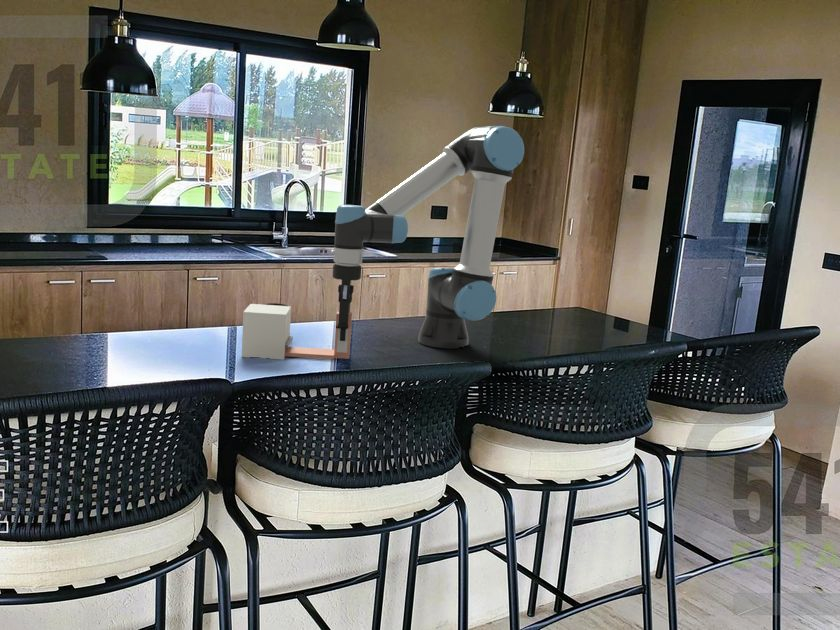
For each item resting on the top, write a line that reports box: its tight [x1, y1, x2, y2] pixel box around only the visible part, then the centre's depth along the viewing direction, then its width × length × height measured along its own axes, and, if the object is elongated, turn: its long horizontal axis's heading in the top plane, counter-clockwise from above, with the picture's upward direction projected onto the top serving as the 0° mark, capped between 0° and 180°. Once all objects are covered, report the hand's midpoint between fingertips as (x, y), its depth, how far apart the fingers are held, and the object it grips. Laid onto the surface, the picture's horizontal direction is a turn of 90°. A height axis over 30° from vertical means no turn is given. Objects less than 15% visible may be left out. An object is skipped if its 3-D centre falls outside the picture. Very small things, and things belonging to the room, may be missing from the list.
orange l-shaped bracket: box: [285, 310, 353, 360], centre depth 226 cm, size 18×7×12 cm, turn 92°
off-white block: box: [241, 303, 294, 361], centre depth 225 cm, size 12×12×12 cm
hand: (342, 349), depth 227 cm, fingers closed on orange l-shaped bracket, 4 cm apart
